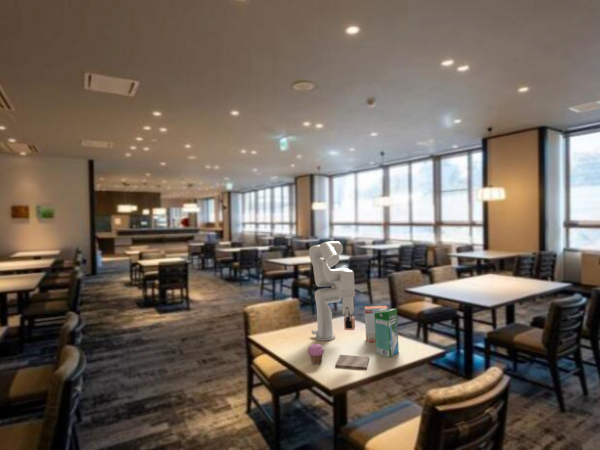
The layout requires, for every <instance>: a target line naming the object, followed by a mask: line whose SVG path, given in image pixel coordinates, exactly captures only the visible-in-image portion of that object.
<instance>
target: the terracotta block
mask: <svg viewBox="0 0 600 450" xmlns="http://www.w3.org/2000/svg"><path fill="white" fill-rule="evenodd" d="M349 317H350V316H349ZM355 317H356V316H351V321H352V328H346V322H345V321H346V317H345V316H344V318H343V325H344V331H355V328H356V323H355V321H356V319H355Z"/></svg>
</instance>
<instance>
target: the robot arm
mask: <svg viewBox="0 0 600 450" xmlns="http://www.w3.org/2000/svg"><path fill="white" fill-rule="evenodd" d="M308 249H309V250H308V257H309V259H310V262H311V265H312V267H313V275H314V282H315V284H316V285H315V286H317V287H318V288H319V287H320V288H319V289H317V290H316V291H315V292H314V300H315V305H316V320H317V321H316V323H317V329H316V330H314V329H313V330H311V335H315V339H316V340H318V341H323V342H325V341H327V342H328V341H333V340H334V339H335V338H336V334H334V333H333V313H332V308H331V307H330V306H329V305H328V304H333V303H339V302H341V301H342V306H341V307H342V315H343V316H344V318H345V317H346V321H345V322H346V328H352V321H351V316H353V315H354V311H355V309H354V306H355V305H354V297H355V296H356V294H355V293H356V292H355V290H356V289H355V273H354V270H352V269H350V268H347V267H344V268H343V267H342V268H333V267H334V266H336V265H337V264H338V263H339V262H340V255H341V254H342V253H343V250H344V247H343V244H342V243H341V242H340V241H338V240H336V241H334V240H333V241H324V242H322V243H320V244H315V245H312V246H310V248H308ZM322 258H323V259H322ZM321 287H323V288H321ZM324 287H326V288H324ZM327 287H328V288H327ZM349 316H350V317H349Z"/></svg>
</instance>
